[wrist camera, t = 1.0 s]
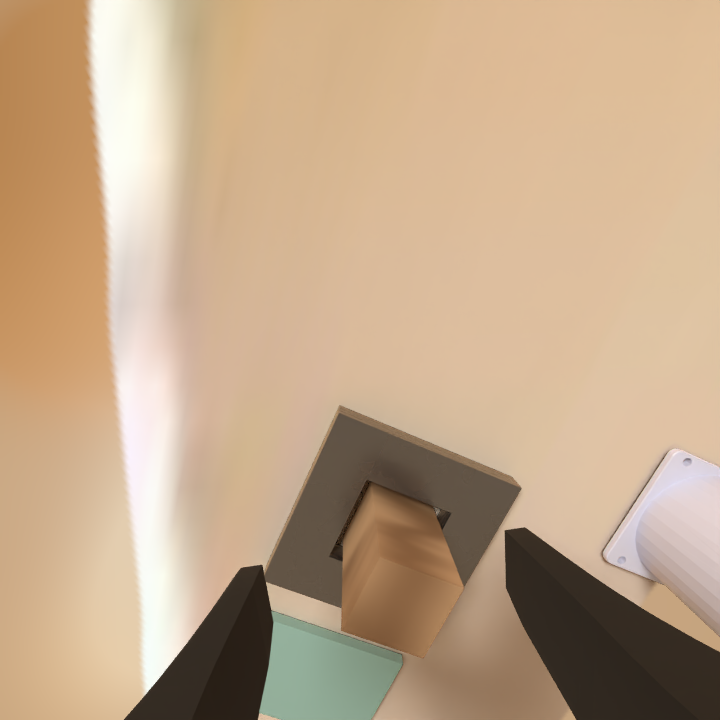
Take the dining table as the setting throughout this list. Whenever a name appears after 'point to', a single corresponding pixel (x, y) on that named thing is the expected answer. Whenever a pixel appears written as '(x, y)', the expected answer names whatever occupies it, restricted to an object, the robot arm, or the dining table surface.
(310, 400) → the dining table surface
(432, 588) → the brown block
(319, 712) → the mat
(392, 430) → the socket plate
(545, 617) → the robot arm
